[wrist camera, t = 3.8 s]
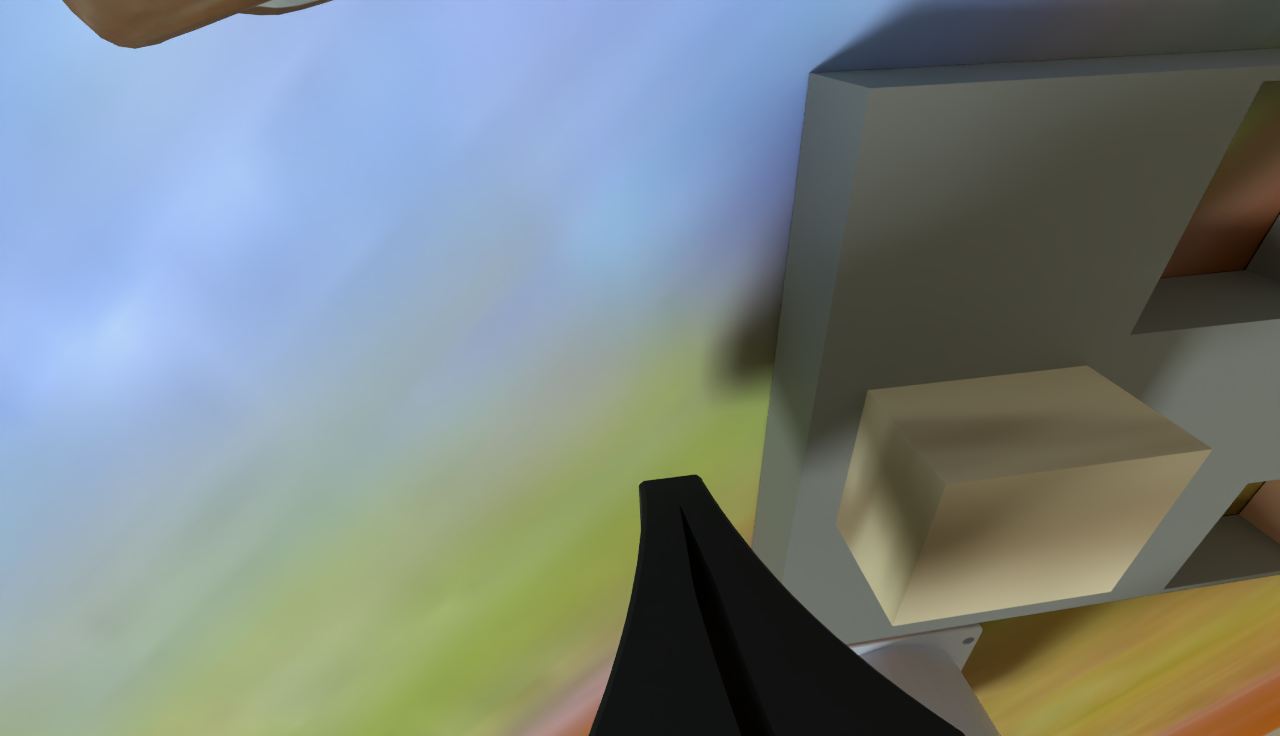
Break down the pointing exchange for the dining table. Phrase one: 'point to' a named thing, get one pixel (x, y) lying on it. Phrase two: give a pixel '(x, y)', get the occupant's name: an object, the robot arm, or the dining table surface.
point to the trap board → (1021, 294)
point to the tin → (168, 16)
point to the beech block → (1007, 490)
